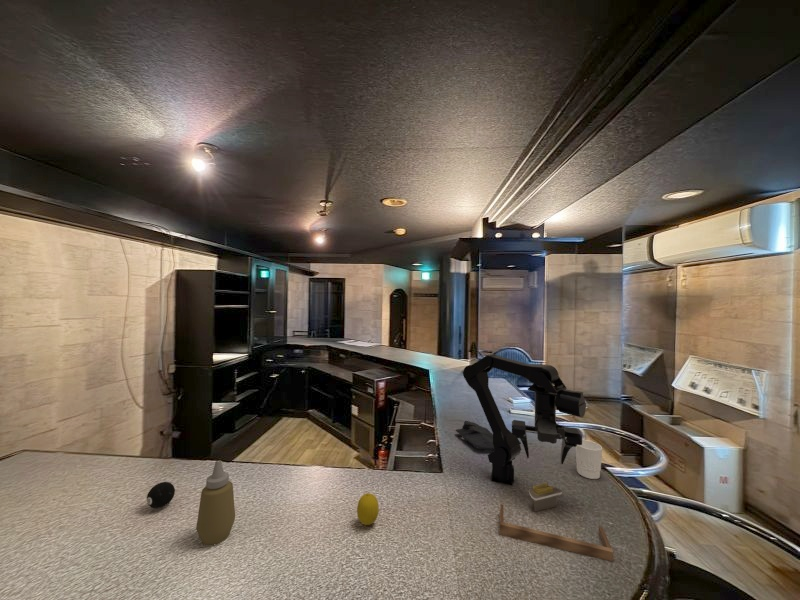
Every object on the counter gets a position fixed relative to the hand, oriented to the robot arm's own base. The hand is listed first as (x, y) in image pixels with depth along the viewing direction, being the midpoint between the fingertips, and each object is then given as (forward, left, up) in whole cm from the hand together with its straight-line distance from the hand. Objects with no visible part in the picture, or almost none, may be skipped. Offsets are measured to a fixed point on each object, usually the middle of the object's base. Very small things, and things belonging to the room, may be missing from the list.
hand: (544, 460), depth 92 cm
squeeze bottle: (-76, -46, -11) cm, 90 cm away
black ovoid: (-100, -43, -11) cm, 110 cm away
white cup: (+16, +21, -11) cm, 28 cm away
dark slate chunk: (-22, +35, -12) cm, 43 cm away
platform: (-1, -5, -12) cm, 13 cm away
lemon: (-44, -29, -11) cm, 54 cm away
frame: (0, -16, -11) cm, 20 cm away
